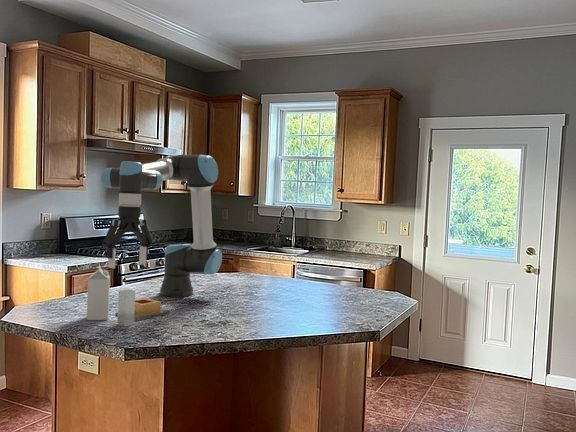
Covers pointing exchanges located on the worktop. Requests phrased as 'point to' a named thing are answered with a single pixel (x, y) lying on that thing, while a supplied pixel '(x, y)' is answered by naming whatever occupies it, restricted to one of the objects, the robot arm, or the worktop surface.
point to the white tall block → (126, 307)
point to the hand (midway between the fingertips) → (127, 266)
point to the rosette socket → (147, 309)
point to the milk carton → (98, 295)
